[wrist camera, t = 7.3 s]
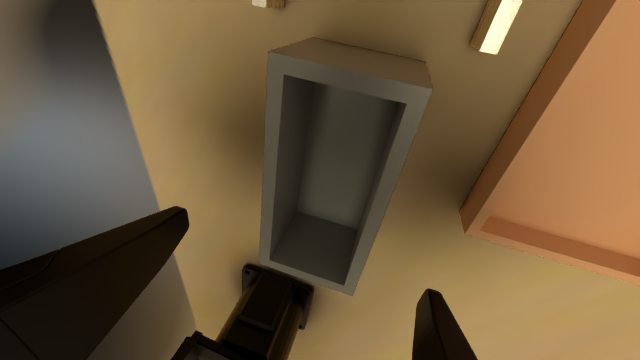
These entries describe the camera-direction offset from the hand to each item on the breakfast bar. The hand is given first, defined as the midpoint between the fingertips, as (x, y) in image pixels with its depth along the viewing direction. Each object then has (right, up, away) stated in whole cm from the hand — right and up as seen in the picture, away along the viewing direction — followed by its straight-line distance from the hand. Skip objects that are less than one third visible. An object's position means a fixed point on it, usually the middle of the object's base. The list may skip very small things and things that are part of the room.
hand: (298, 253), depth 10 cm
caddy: (+2, +4, +6) cm, 8 cm away
